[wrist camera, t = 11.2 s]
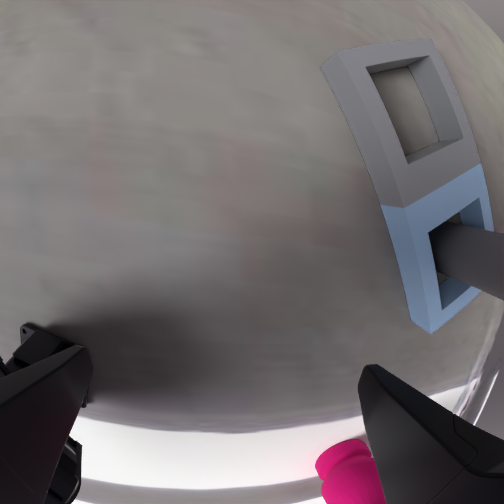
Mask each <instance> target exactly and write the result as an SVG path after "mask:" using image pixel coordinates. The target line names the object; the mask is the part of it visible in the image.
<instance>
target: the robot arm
mask: <svg viewBox="0 0 504 504" xmlns="http://www.w3.org/2000/svg"><path fill="white" fill-rule="evenodd" d="M25 330H26V331H27V332H26V331H25ZM20 336H21V345H20V346H19V347H18V349H17V350H16V351H15V352H14V353H13V356H12V358H11V359H10V360H9V361H8V362H7V363H6V364H4V363H3V359H2V358H1V357H0V504H71V503H72V502H73V501H74V499H75V498H76V496H77V494H78V492H79V490H80V486H81V457H82V445H81V444H80V443H78V442H77V441H75V440H73V439H72V438H71V437H70V436H69V434H70V431H71V429H72V427H73V424H74V422H75V420H76V417H77V415H78V413H79V410H80V408H81V407H82V408H85V407H86V406H87V403H88V392H87V387H88V384H89V381H90V378H91V375H92V372H93V366H92V363H91V359H90V356H89V352H88V349H87V348H86V347H83V346H79V345H76V344H73V343H70V342H68V341H65V340H63V339H61V338H58V337H56V336H53V335H51V334H49V333H46V332H44V331H41V330H39V329H36V328H34V327H32V326H29V325H27V324H23V325H22V326H21V327H20ZM358 393H359V398H360V404H361V409H362V415H363V420H364V425H365V430H366V433H367V437H368V440H369V443H370V447H371V450H372V453H373V457H374V460H375V464H376V467H377V471H378V474H379V478H380V482H381V485H382V489H383V493H384V497H385V500H386V504H504V440H502V439H500V438H498V437H496V436H493V435H492V434H490V433H488V432H485V431H484V430H482V429H480V428H478V427H476V426H474V425H472V424H470V423H469V422H467V421H465V420H464V419H462V418H460V417H459V416H457V415H456V414H453V413H452V412H451V411H449V410H447V409H446V408H444V407H443V406H441V405H440V404H438V403H436V402H435V401H433V400H432V399H430V398H429V397H427V396H425V395H424V394H422V393H421V392H419V391H418V390H416V389H415V388H413V387H411V386H410V385H408V384H407V383H405V382H404V381H402V380H401V379H399V378H398V377H396V376H395V375H393V374H391V373H390V372H388V371H387V370H385V369H384V368H382V367H381V366H379V365H378V364H371V365H366V366H365V367H364V368H363V371H362V374H361V377H360V380H359V383H358ZM82 402H83V403H82Z"/></svg>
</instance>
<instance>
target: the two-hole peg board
mask: <svg viewBox="0 0 504 504" xmlns="http://www.w3.org/2000/svg"><path fill="white" fill-rule="evenodd" d="M404 66H408V67H409V69H410V71H411V73H412V75H413V77H414V79H415V81H416V83H417V86H418V88H419V90H420V92H421V94H422V97H423V99H424V101H425V104H426V106H427V108H428V111H429V113H430V116H431V118H432V121H433V124H434V126H435V129H436V132H437V134H438V137H439V140H440V141H438V142H436V143H434V144H432V145H429V146H427V147H425V148H423V149H421V150H418V151H416V152H414V153H412V154H410V155H407V156H405V155H404V152H403V149H402V147H401V144H400V142H399V139H398V136H397V134H396V131H395V129H394V127H393V124H392V122H391V119H390V117H389V115H388V112H387V110H386V108H385V106H384V104H383V101H382V99H381V97H380V95H379V93H378V91H377V89H376V87H375V85H374V83H373V81H372V79H371V77H370V75H369V74H372V73H376V72H380V71H385V70H389V69H394V68H399V67H404ZM320 69H321V70H322V72H323V74H324V76H325V78H326V80H327V82H328V84H329V85H330V87H331V89H332V91H333V93H334V95H335V97H336V99H337V101H338V103H339V105H340V107H341V109H342V112H343V114H344V116H345V118H346V120H347V122H348V124H349V127H350V129H351V131H352V133H353V136H354V138H355V140H356V143H357V145H358V147H359V150H360V152H361V155H362V157H363V160H364V162H365V165H366V167H367V170H368V172H369V175H370V177H371V180H372V183H373V186H374V188H375V191H376V194H377V197H378V200H379V202H380V205H381V208H382V211H383V214H384V218H385V221H386V224H387V227H388V230H389V233H390V237H391V240H392V244H393V247H394V251H395V254H396V258H397V262H398V265H399V269H400V273H401V277H402V281H403V285H404V290H405V294H406V299H407V303H408V308H409V313H410V318H411V321H413V322H414V323H415V324H417V325H418V326H420V327H421V328H423V329H424V330H425V331H427V332H428V333H430V334H432V333H433V332H435V331H436V330H437V329H438V328H440V327H441V326H442V325H443V324H445V323H446V322H447V321H448V320H449V319H451V318H452V317H453V316H454V315H455V314H457V313H458V312H459V311H460V310H461V309H462V308H464V307H465V306H466V305H467V304H468V303H469V302H470V301H471V300H473V299H474V298H475V297H476V296H477V295H478V294H479V293H480V292H481V291H482V290H479V289H477V288H475V287H473V286H470V285H468V284H466V283H463V282H461V281H459V280H456V279H454V278H452V277H449V278H447V279H446V280H445V281H444V282H442V283H441V284H440V285H438V281H437V275H436V269H435V264H434V259H433V254H432V249H431V244H430V240H429V235H428V232H430V231H431V230H433V229H434V228H436V227H437V226H439V225H440V224H442V223H443V222H445V221H446V220H447V219H449V218H450V217H452V216H453V215H455V214H456V213H458V212H460V217H461V222H462V225H466V226H470V227H475V228H479V229H484V230H488V231H493V232H494V227H493V220H492V213H491V207H490V202H489V196H488V191H487V186H486V182H485V177H484V173H483V169H482V165H481V161H480V157H479V154H478V150H477V147H476V143H475V140H474V137H473V134H472V130H471V127H470V124H469V122H468V119H467V116H466V113H465V110H464V108H463V105H462V103H461V100H460V98H459V95H458V93H457V90H456V88H455V86H454V83H453V81H452V79H451V77H450V74H449V72H448V70H447V68H446V66H445V64H444V62H443V60H442V58H441V56H440V54H439V52H438V50H437V48H436V46H435V44H434V43H433V41H432V39H431V38H427V39H414V40H403V41H394V42H387V43H379V44H373V45H367V46H361V47H355V48H350V49H345V50H340V51H336V52H335V53H334V54H333V55H332V56H331V57H330V58H329V59H328V60H327V61H326V62H325V63H324V64H323V65H322V66H321V67H320Z"/></svg>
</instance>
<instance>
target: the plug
mask: <svg viewBox="0 0 504 504" xmlns="http://www.w3.org/2000/svg"><path fill="white" fill-rule="evenodd" d="M428 235H429V240H430V244H431V249H432V254H433V259H434V264H435V269H436V271H437V272H440V273H442V274H445V275H447V276H449V277H452V278H454V279H456V280H459V281H461V282H463V283H466V284H468V285H470V286H473V287H475V288H477V289H479V290H482V291H484V292H486V293H488V294H491V295H493V296H495V297H497V298H500V299H502V300H504V234H501V233H497V232H493V231H488V230H484V229H479V228H475V227H470V226H466V225H461V224H456V223H451V222H446V221H445V222H443V223H442V224H440V225H439V226H437V227H436V228H434V229H433V230H431V231H430V232H428Z"/></svg>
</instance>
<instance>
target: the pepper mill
mask: <svg viewBox="0 0 504 504" xmlns="http://www.w3.org/2000/svg"><path fill="white" fill-rule="evenodd" d="M315 468H316V470H317V472H318V475H319V477H320V479H322V480H324V482H323V484H322V488H321V493H322V496H323V498H324V500H325V501H326V503H327V504H386V500H385V497H384V493H383V489H382V485H381V482H380V478H379V474H378V471H377V467H376V464H375V460H374V458H371V452H370V450H369V449H368V447H367V446H366V444H365V443H364V442H363V441H360V440H349V441H344V442H342V443H339V444H336V445H335V446H333V447H331V448H329V449H328V450H326V451H325V452H324V453H323V454H322V455H321V456H320V457H319V458H318V459H317V461H316V464H315Z"/></svg>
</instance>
